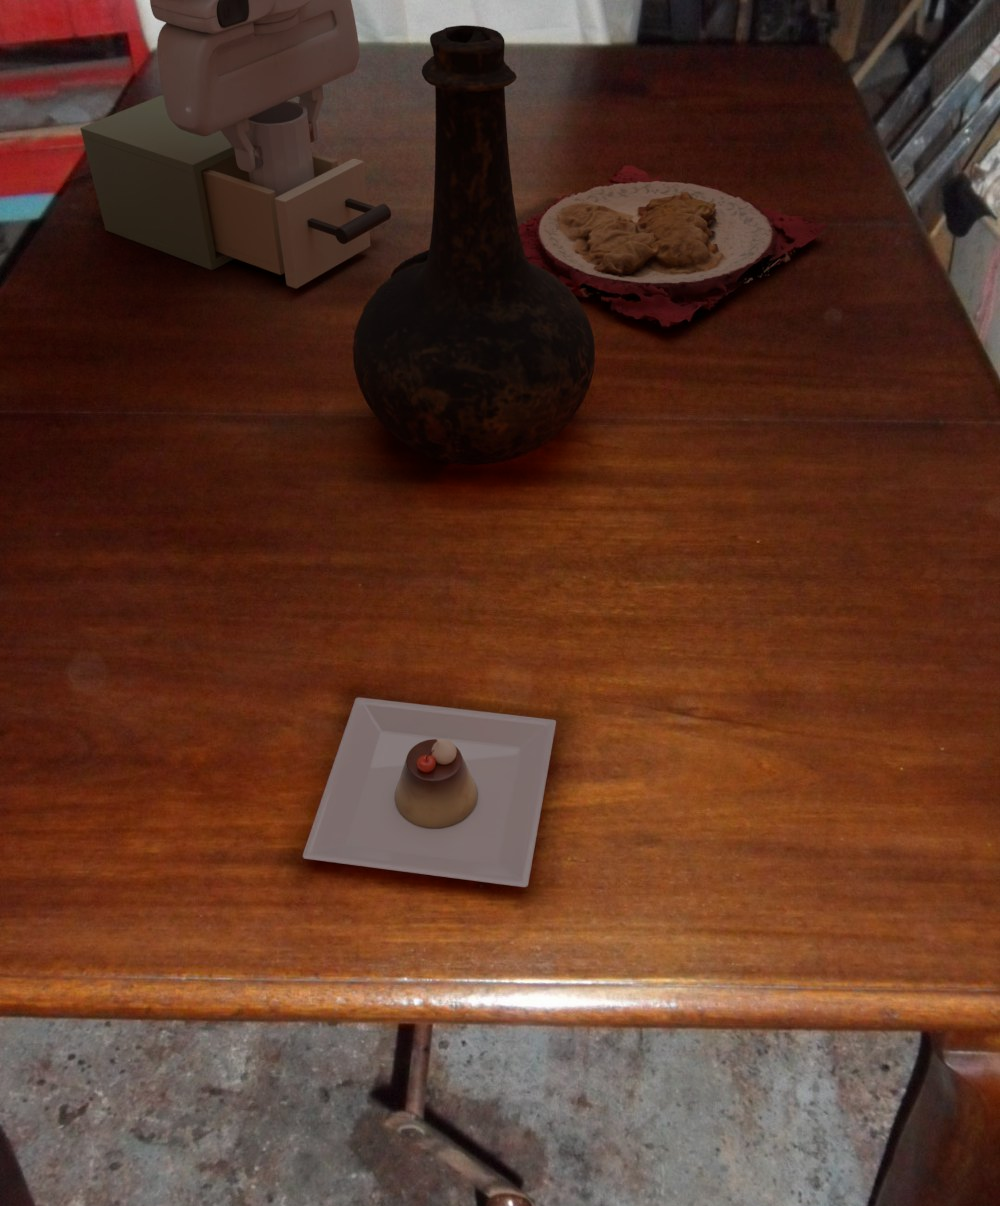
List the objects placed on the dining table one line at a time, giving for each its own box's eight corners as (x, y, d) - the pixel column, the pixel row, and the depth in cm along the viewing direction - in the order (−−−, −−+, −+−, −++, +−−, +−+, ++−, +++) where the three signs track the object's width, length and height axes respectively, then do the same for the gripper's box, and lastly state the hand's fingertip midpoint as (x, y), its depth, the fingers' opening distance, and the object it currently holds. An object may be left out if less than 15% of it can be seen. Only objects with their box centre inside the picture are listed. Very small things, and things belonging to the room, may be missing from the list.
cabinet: (296, 226, 117) (283, 123, 110) (212, 270, 110) (192, 164, 103) (191, 189, 123) (172, 90, 116) (105, 230, 116) (79, 127, 109)
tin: (237, 186, 106) (226, 115, 102) (281, 165, 109) (271, 95, 105) (284, 202, 104) (275, 130, 99) (328, 179, 107) (320, 109, 102)
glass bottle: (508, 349, 100) (509, -30, 80) (638, 449, 90) (677, 44, 70) (320, 412, 94) (269, 16, 73) (437, 528, 83) (415, 105, 63)
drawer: (410, 259, 110) (405, 173, 104) (336, 304, 104) (326, 215, 98) (265, 210, 117) (253, 127, 111) (188, 249, 111) (172, 164, 106)
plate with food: (824, 244, 114) (832, 208, 112) (669, 339, 101) (674, 300, 98) (627, 180, 125) (629, 146, 123) (462, 258, 112) (462, 221, 109)
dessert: (304, 870, 63) (292, 813, 60) (357, 709, 71) (350, 651, 68) (527, 899, 62) (528, 843, 58) (555, 732, 70) (558, 674, 67)
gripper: (312, -60, 102) (329, 111, 112) (132, 0, 90) (169, 185, 100) (368, -48, 99) (381, 126, 109) (190, 16, 88) (222, 203, 98)
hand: (278, 155), depth 105 cm, fingers closed on tin, 6 cm apart
